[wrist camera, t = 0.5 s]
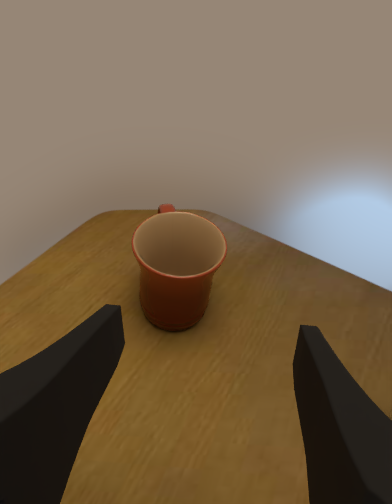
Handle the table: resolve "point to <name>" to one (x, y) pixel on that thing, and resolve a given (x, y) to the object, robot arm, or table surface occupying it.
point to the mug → (177, 266)
